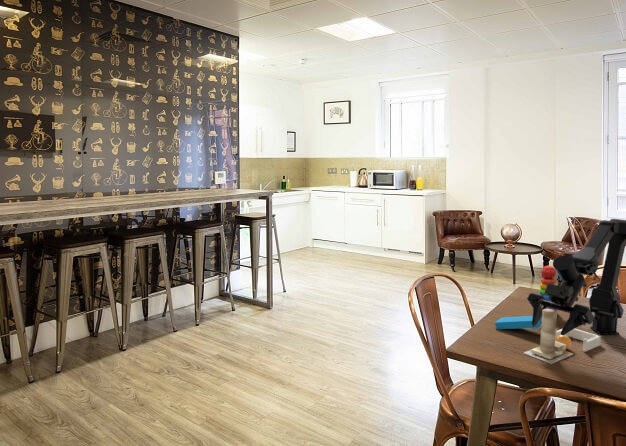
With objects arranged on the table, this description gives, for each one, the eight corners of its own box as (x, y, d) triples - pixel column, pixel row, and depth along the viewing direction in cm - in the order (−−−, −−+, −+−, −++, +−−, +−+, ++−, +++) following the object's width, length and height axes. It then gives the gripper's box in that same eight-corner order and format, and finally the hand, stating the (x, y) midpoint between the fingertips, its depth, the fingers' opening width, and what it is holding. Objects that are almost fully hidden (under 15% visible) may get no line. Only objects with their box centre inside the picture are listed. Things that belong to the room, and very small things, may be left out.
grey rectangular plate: (545, 345, 156) (545, 344, 156) (573, 354, 148) (573, 353, 148) (523, 353, 149) (523, 352, 149) (551, 364, 142) (551, 363, 142)
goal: (567, 335, 164) (568, 323, 164) (600, 345, 156) (601, 333, 155) (552, 340, 159) (553, 329, 159) (585, 351, 150) (586, 339, 150)
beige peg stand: (548, 345, 154) (551, 305, 152) (567, 351, 149) (570, 310, 147) (531, 352, 149) (533, 310, 147) (549, 359, 144) (552, 315, 142)
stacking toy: (559, 312, 188) (562, 265, 185) (556, 318, 181) (560, 269, 178) (537, 308, 192) (540, 262, 189) (533, 314, 185) (537, 266, 182)
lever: (499, 342, 171) (552, 340, 159) (494, 322, 171) (548, 320, 159) (505, 336, 176) (558, 335, 164) (501, 317, 176) (553, 314, 164)
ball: (566, 345, 155) (567, 332, 155) (573, 351, 151) (574, 337, 150) (552, 345, 155) (553, 332, 155) (559, 351, 151) (560, 337, 150)
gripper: (532, 268, 155) (509, 307, 150) (592, 280, 139) (568, 324, 135) (544, 288, 160) (522, 326, 156) (603, 302, 145) (581, 345, 140)
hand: (546, 329), depth 147 cm, fingers open, 9 cm apart
